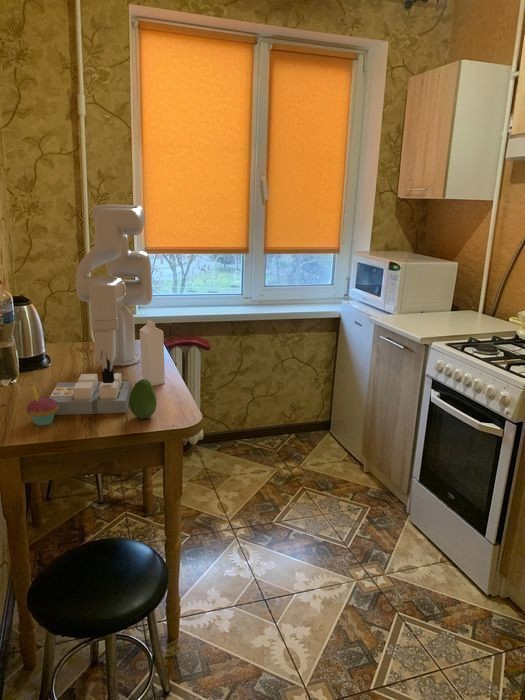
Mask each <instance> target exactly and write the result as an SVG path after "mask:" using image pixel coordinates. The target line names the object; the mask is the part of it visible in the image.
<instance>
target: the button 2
mask: <svg viewBox="0 0 525 700" xmlns="http://www.w3.org/2000/svg"><path fill="white" fill-rule="evenodd" d="M75 382H76V381H75ZM73 393H74V400H92V399H93V398H94V384H93V382H78V381H77V382H76V384H75V386H74V388H73Z"/></svg>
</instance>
